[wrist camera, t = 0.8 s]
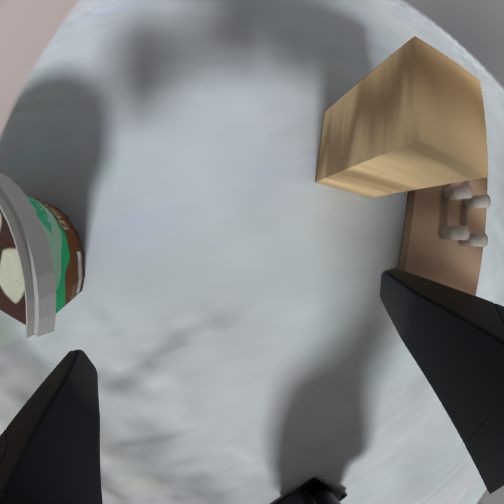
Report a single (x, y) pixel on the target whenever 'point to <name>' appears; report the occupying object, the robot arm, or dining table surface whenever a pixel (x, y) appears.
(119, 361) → the dining table surface
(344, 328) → the dining table surface
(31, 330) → the food container
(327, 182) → the oak block
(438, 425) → the dining table surface
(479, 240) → the peg base
